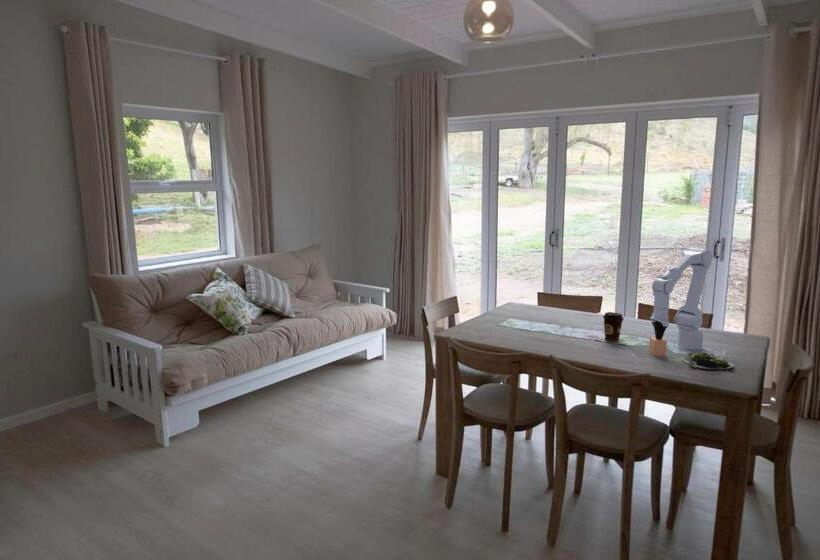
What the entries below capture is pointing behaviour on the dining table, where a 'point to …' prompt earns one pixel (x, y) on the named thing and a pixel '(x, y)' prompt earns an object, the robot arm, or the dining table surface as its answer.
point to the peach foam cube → (657, 346)
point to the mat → (644, 351)
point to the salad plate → (707, 362)
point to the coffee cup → (612, 326)
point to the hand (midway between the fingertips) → (658, 338)
